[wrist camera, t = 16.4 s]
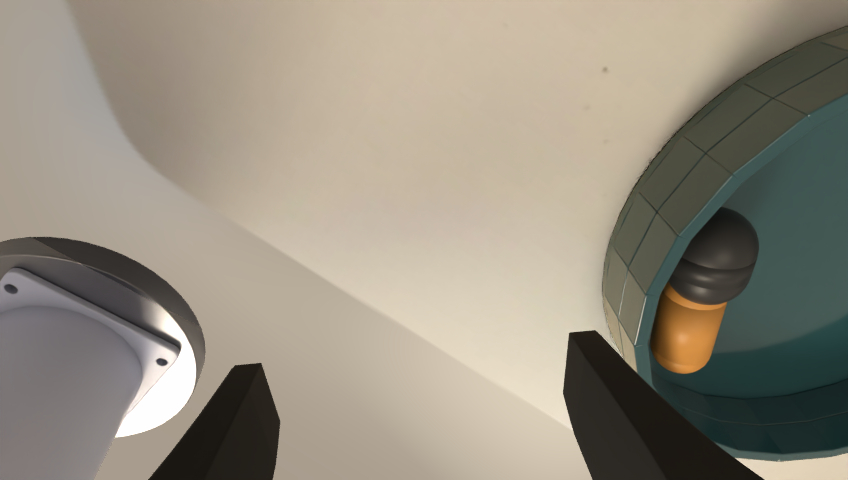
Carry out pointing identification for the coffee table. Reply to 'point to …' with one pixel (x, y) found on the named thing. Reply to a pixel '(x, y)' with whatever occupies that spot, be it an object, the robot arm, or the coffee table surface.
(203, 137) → the coffee table surface
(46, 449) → the robot arm
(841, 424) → the bowl
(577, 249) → the coffee table surface
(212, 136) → the coffee table surface
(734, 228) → the microphone
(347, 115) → the coffee table surface
